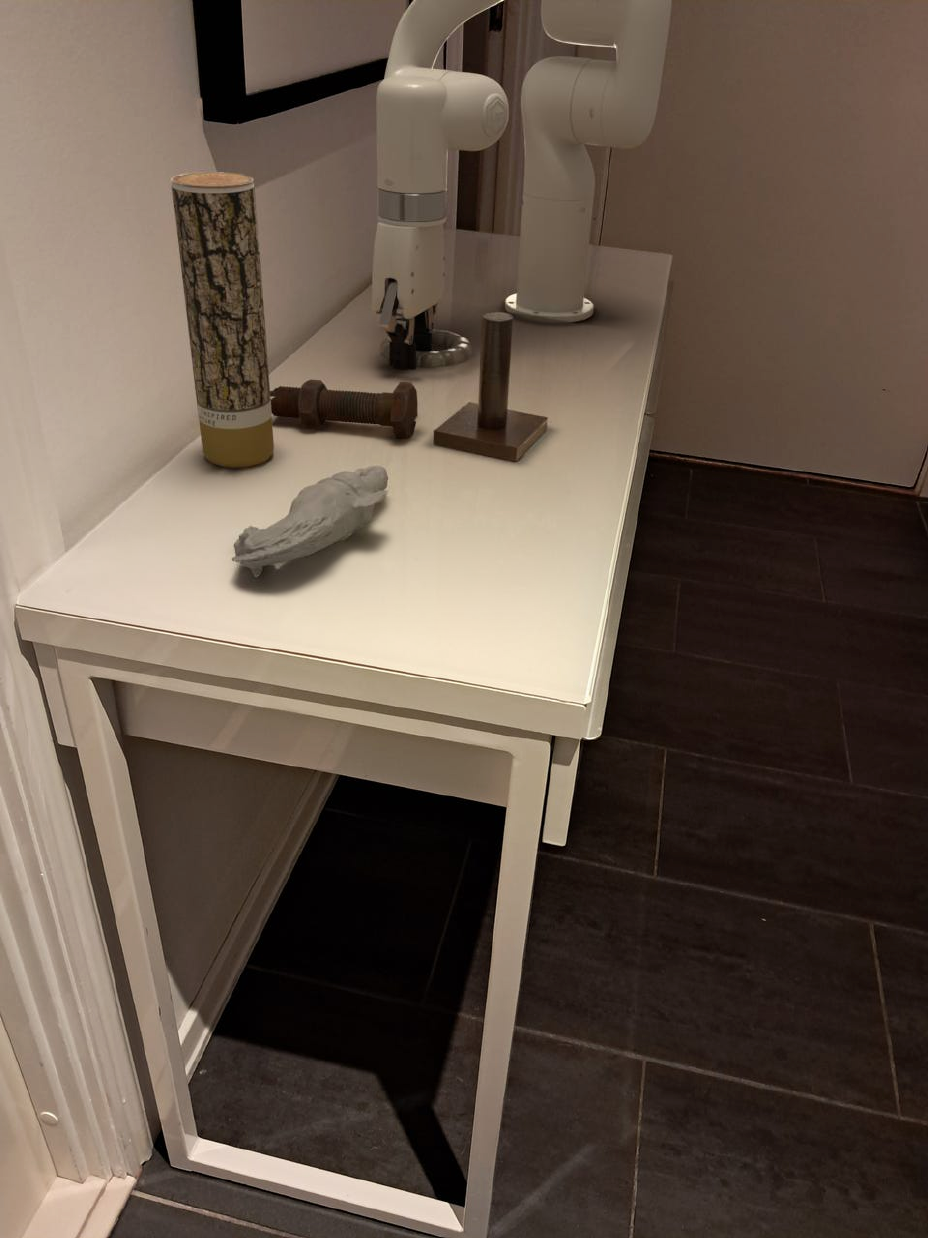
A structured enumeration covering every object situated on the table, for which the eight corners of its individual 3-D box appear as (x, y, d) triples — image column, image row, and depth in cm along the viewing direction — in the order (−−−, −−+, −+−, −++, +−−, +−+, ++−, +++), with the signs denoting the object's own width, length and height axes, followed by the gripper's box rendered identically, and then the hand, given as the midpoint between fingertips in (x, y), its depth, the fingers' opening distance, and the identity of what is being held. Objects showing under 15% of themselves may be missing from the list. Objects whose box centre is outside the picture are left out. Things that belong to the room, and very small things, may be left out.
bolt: (278, 432, 106) (414, 443, 104) (260, 425, 101) (404, 436, 99) (282, 377, 106) (420, 387, 103) (265, 367, 101) (409, 377, 98)
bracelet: (405, 341, 128) (405, 321, 126) (485, 355, 124) (486, 335, 123) (364, 367, 119) (363, 345, 118) (449, 383, 116) (449, 361, 114)
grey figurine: (287, 465, 92) (200, 536, 75) (402, 435, 89) (340, 503, 72) (306, 516, 94) (225, 598, 76) (419, 489, 91) (363, 568, 73)
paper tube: (259, 474, 93) (235, 189, 80) (191, 465, 94) (156, 182, 81) (284, 446, 99) (266, 175, 85) (220, 438, 100) (192, 169, 86)
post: (468, 414, 108) (473, 298, 101) (546, 430, 105) (557, 311, 98) (433, 444, 101) (435, 321, 94) (516, 461, 98) (524, 336, 91)
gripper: (414, 190, 116) (413, 345, 126) (344, 215, 103) (349, 385, 113) (473, 197, 113) (467, 354, 123) (409, 223, 100) (408, 397, 111)
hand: (410, 368), depth 118 cm, fingers open, 3 cm apart
